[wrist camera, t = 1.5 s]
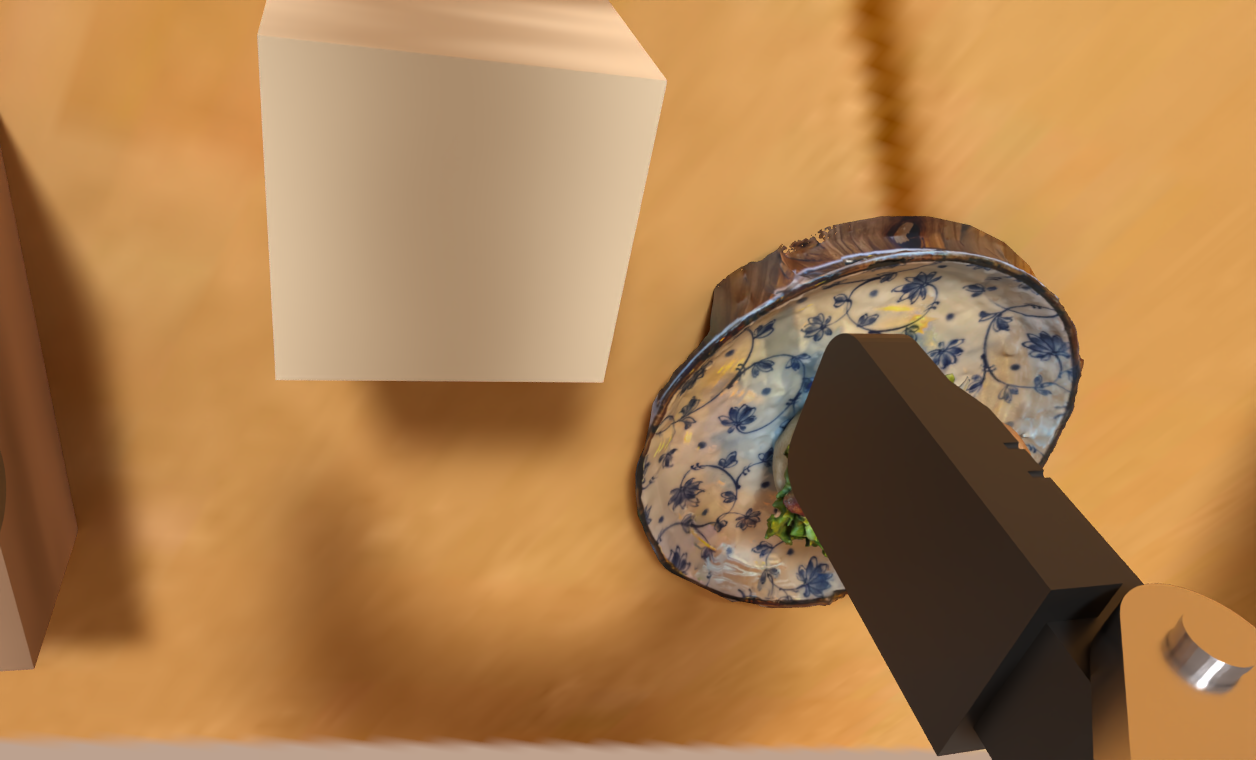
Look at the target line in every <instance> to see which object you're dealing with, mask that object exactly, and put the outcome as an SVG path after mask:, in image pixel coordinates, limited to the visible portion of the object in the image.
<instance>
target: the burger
mask: <svg viewBox="0 0 1256 760" xmlns="http://www.w3.org/2000/svg"><path fill="white" fill-rule="evenodd" d="M849 226H850V227H849ZM835 227H836V228H835ZM827 228H828V230H829V232H828V234H827V232H825V231H822V229H821V230H820V231H819V232H818V233H821V234H820V235H819V238H823V235H825V237H824V238H823V239H824V240H825V241H823V242H822V243H819V242H818V241H817V240H816V238H815V237H812V238H810V240H808V239H807V238H805V239H804V240H802V241H800V240H798V241H797V242H796V241H794V242H793V243H792V244H791V246H789V247H791V250H793V252H791V253H790V251H789V250H790V249H789V250H788V251H789V252H787V253H783V250H785V249H787V247H785V246H783V247H782V245H783V244H782V245H780V247H779V249H777V250H776V251H775V252H773V253H771V254H769V255H768V256H767V257H765V258H764V259H763V260H761V261H758V262H750V263H748V264H747V265H745V266H743V267H741V268H739V269H738V270H736V271H734V272H733V273H732V274H730V275H728V276H727V277H726V279H723V280H722V281H721V282H720V283H719V284H717V286H716V287H715V289H714V301H713V306H712V312H711V318H710V331H709V333H708V335H707V336H706V337H705V338H704V339H703V341H702V342H701V343H700V345H699V346H698V348H696V349H695V350H694V351H693V352H692V353H691V354H690V355H689V357H688V358H687V360H686V361H685V362H684V363H683V364H682V365H680V366H679V367H678V368H677V369H676V370H675V372H674V373H673V375H672V376H671V378H670V380H669V382H668V383H667V384H666V385H665V386H664V388H663V389H661V390H660V391H659V393H658V395H657V397H656V399H655V401H654V403H653V405H652V412H651V418H650V424H649V429H648V433H647V438H646V442H645V447H644V449H643V451H642V454H641V456H640V459H639V461H638V464H637V469H636V500H637V510H638V516H639V518H640V521H641V523H642V526H643V528H644V531H645V534H646V536H647V538H648V540H649V542H650V544H651V546H652V548H653V550H654V552H655V554H656V556H657V558H658V560H659V561H660V562H661V564H662V565H663V566H664V567H665V568H666V569H667V570H668V571H670V572H671V573H673V574H675V575H677V576H679V577H681V578H684V579H686V580H688V581H690V582H692V583H694V584H696V585H698V586H701V587H703V588H705V589H707V590H709V591H711V592H713V593H715V594H717V595H719V596H721V597H723V598H725V599H727V600H729V601H731V602H736V601H742V602H748V603H753V604H758V605H759V606H762V607H768V608H792V607H810V606H816V605H823V606H826V605H830V604H831V603H832V602H834V601H836V600H837V599H838V598H843V597H844V596H845V594H848V593H847V591H846V589H845V587H844V586H843V584H842V582H841V580H840V578H839V577H838V575H837V573H836V571H835V569H834V568H833V566H832V564H831V562H830V560H829V558H828V557H827V555H826V553H825V551H824V549H823V548H822V546H821V544H820V542H819V540H818V539H817V537H816V535H815V533H814V531H813V529H812V528H811V526H810V524H809V522H808V520H807V519H806V517H805V515H804V513H803V511H802V510H801V508H800V506H799V504H798V502H797V500H796V498H795V496H794V494H793V492H792V489H791V485H790V481H789V475H788V450H789V445H790V442H791V438H792V436H793V433H794V430H795V428H796V425H797V422H798V420H799V417H800V414H801V412H802V409H803V406H804V404H805V401H806V399H807V396H808V393H809V391H810V388H811V385H812V383H813V380H814V377H815V375H816V372H817V369H818V367H819V364H820V361H821V359H822V356H823V353H824V351H825V349H826V347H827V345H828V344H829V342H830V341H831V340H832V339H833V338H834V337H835V336H837V335H839V334H842V333H863V334H905V335H908V336H910V337H911V338H913V339H914V340H915V341H916V342H917V343H918V344H919V345H920V347H921V348H922V349H923V350H924V351H925V352H926V354H927V355H928V356H929V357H930V358H931V359H932V361H933V362H934V363H935V364H936V365H937V366H938V368H939V369H940V370H941V371H942V372H943V373H944V375H945V376H946V377H947V378H948V379H949V380H950V381H951V382H953V383H954V384H956V385H957V386H958V387H960V388H961V389H963V390H964V391H966V392H967V393H968V394H970V395H971V396H973V397H974V398H975V399H977V400H978V401H980V402H981V403H983V404H984V405H985V406H987V407H988V408H990V410H991V411H992V412H993V413H994V414H995V415H996V416H997V418H998V419H999V420H1000V421H1001V422H1002V423H1003V424H1004V426H1005V427H1006V428H1007V429H1008V430H1009V431H1010V432H1011V434H1012V435H1013V436H1014V437H1015V438H1016V439H1017V440H1018V442H1019V444H1018V446H1019V449H1026V451H1027V452H1028V453H1029V454H1030V455H1031V456H1032V457H1033V459H1034V460H1035V461H1036V462H1037V463H1038V464H1039V465H1040V467H1041V468H1043V467H1044V465H1045V464H1046V462H1047V460H1048V458H1049V456H1050V454H1051V453H1052V452H1053V449H1054V448H1055V446H1056V444H1057V441H1058V439H1059V436H1060V435H1061V432H1062V430H1063V429H1064V428H1065V425H1066V422H1067V421H1068V419H1069V418H1070V416H1071V413H1072V411H1073V409H1074V402H1075V396H1076V394H1077V389H1078V382H1079V379H1080V377H1081V371H1082V368H1083V364H1084V360H1083V359H1081V358H1080V355H1079V343H1078V339H1077V331H1076V328H1075V325H1074V324H1073V321H1071V319H1070V317H1069V316H1068V314H1067V312H1066V311H1065V309H1064V307H1063V306H1062V305H1061V304H1060V302H1059V298H1058V297H1057V296H1056V295H1054V294H1053V293H1052V292H1050V291H1049V290H1048V289H1047V288H1046V287H1045V286H1044V285H1043V284H1042V283H1041V282H1040V281H1038V280H1037V279H1036V277H1035V275H1034V273H1033V271H1032V270H1031V268H1030V266H1029V265H1028V264H1027V263H1026V262H1025V261H1024V260H1022V259H1021V258H1020V257H1019V256H1018V255H1017V254H1016V253H1015V252H1014V251H1013V250H1012V249H1011V248H1010V247H1009V246H1008V245H1006V244H1005V243H1004V242H1002V241H1000V240H998V239H996V238H994V237H992V236H990V235H988V234H986V233H984V232H982V231H980V230H978V229H976V228H974V227H972V226H970V225H965V224H961V223H956V222H952V221H948V220H943V219H938V218H933V217H926V216H913V217H912V216H896V217H890V216H885V217H884V216H881V217H876V218H871V219H865V220H859V221H854V222H848V223H843V224H839V225H833V229H831V227H827ZM827 228H825V230H826V229H827ZM830 229H831V230H830ZM836 232H837V233H836ZM835 233H836V235H835ZM815 235H816V234H815ZM811 236H812V235H811ZM828 237H829V238H828ZM827 238H828V239H827ZM806 242H807V243H806ZM808 242H809V243H808ZM802 245H803V246H802ZM781 247H782V248H781ZM792 247H793V248H794V249H793V248H792ZM795 249H796V250H795ZM786 254H787V255H786ZM741 269H743V270H741ZM718 286H719V287H718Z"/></svg>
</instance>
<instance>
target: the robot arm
mask: <svg viewBox="0 0 1256 760" xmlns="http://www.w3.org/2000/svg"><path fill="white" fill-rule="evenodd" d="M1018 444H1019V442H1018V440H1017V439H1016V438H1015V437H1014V436H1013V435H1012V434H1011V432H1010V431H1009V430H1008V429H1007V428H1006V427H1005V426H1004V424H1003V423H1002V422H1001V421H1000V420H999V419H998V418H997V416H996V415H995V414H994V413H993V412H992V411H991V410H990V408H988V407H987V406H985V405H984V404H983V403H981V402H980V401H978V400H977V399H975V398H974V397H973V396H971V395H970V394H968V393H967V392H966V391H964V390H963V389H961V388H960V387H958V386H957V385H956V384H954V383H953V382H951V381H950V380H949V379H948V378H947V377H946V376H945V375H944V373H943V372H942V371H941V370H940V369H939V368H938V366H937V365H936V364H935V363H934V362H933V361H932V359H931V358H930V357H929V356H928V355H927V354H926V352H925V351H924V350H923V349H922V348H921V347H920V345H919V344H918V343H917V342H916V341H915V340H914V339H913V338H911V337H910V336H908V335H905V334H863V333H842V334H839V335H837V336H835V337H834V338H833V339H832V340H831V341H830V342H829V344H828V345H827V347H826V349H825V351H824V353H823V356H822V359H821V361H820V364H819V367H818V369H817V372H816V375H815V377H814V380H813V383H812V385H811V388H810V391H809V393H808V396H807V399H806V401H805V404H804V406H803V409H802V412H801V414H800V417H799V420H798V422H797V425H796V428H795V430H794V433H793V436H792V438H791V442H790V445H789V450H788V475H789V481H790V485H791V489H792V492H793V494H794V496H795V498H796V500H797V502H798V504H799V506H800V508H801V510H802V511H803V513H804V515H805V517H806V519H807V520H808V522H809V524H810V526H811V528H812V529H813V531H814V533H815V535H816V537H817V539H818V540H819V542H820V544H821V546H822V548H823V549H824V551H825V553H826V555H827V557H828V558H829V560H830V562H831V564H832V566H833V568H834V569H835V571H836V573H837V575H838V577H839V578H840V580H841V582H842V584H843V586H844V587H845V589H846V591H847V593H848V595H849V597H850V598H851V600H852V602H853V604H854V606H855V607H856V609H857V611H858V613H859V615H860V617H861V618H862V620H863V622H864V624H865V626H866V627H867V629H868V631H869V633H870V635H871V636H872V638H873V640H874V642H875V644H876V646H877V647H878V649H879V651H880V653H881V655H882V656H883V658H884V660H885V662H886V664H887V665H888V667H889V669H890V671H891V673H892V675H893V676H894V678H895V680H896V682H897V684H898V685H899V687H900V689H901V691H902V693H903V695H904V696H905V698H906V700H907V702H908V704H909V705H910V707H911V709H912V711H913V713H914V714H915V716H916V718H917V720H918V722H919V724H920V725H921V727H922V729H923V731H924V733H925V734H926V736H927V738H928V740H929V742H930V743H931V745H932V747H933V749H934V751H935V753H936V754H937V756H942V755H949V754H955V753H962V752H968V751H974V750H981V749H986V750H987V752H988V753H989V755H990V757H991V758H992V760H1256V628H1255V627H1254V626H1253V625H1251V624H1250V623H1249V622H1248V621H1246V620H1245V619H1244V618H1242V617H1241V616H1239V615H1238V614H1236V613H1235V612H1233V611H1232V610H1230V609H1229V608H1227V607H1225V606H1224V605H1222V604H1220V603H1218V602H1216V601H1215V600H1213V599H1211V598H1208V597H1206V596H1204V595H1202V594H1199V593H1197V592H1194V591H1191V590H1188V589H1185V588H1182V587H1178V586H1173V585H1168V584H1158V583H1156V584H1145V585H1144V584H1143V583H1142V582H1141V580H1140V579H1139V578H1138V577H1137V576H1136V575H1135V574H1134V573H1133V571H1132V570H1131V569H1130V568H1129V567H1128V566H1127V565H1126V563H1125V562H1124V561H1123V560H1122V559H1121V558H1120V557H1119V555H1118V554H1117V553H1116V552H1115V551H1114V550H1113V549H1112V547H1111V546H1110V545H1109V544H1108V543H1107V542H1106V541H1105V539H1104V538H1103V537H1102V536H1101V535H1100V534H1099V533H1098V532H1097V530H1096V529H1095V528H1094V527H1093V526H1092V525H1091V524H1090V522H1089V521H1088V520H1087V519H1086V518H1085V517H1084V516H1083V514H1082V513H1081V512H1080V511H1079V510H1078V509H1077V508H1076V506H1075V505H1074V504H1073V503H1072V502H1071V501H1070V500H1069V498H1068V497H1067V496H1066V495H1065V494H1064V493H1063V492H1062V490H1061V489H1060V488H1059V487H1058V486H1057V485H1056V484H1055V483H1054V481H1053V480H1052V479H1051V478H1044V476H1043V471H1044V470H1043V469H1042V468H1041V467H1040V465H1039V464H1038V463H1037V462H1036V461H1035V460H1034V459H1033V457H1032V456H1031V455H1030V454H1029V453H1028V452H1027V451H1026V449H1019V446H1018ZM5 504H6V475H5V467H4V462H3V458H2V454H1V451H0V531H1V527H2V523H3V519H4V513H5Z"/></svg>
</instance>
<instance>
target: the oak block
mask: <svg viewBox="0 0 1256 760" xmlns="http://www.w3.org/2000/svg"><path fill="white" fill-rule="evenodd" d="M257 38H258V57H259V76H260V94H261V113H262V132H263V150H264V169H265V188H266V207H267V225H268V244H269V263H270V281H271V300H272V319H273V338H274V356H275V375H276V380H346V381H478V382H603V381H604V376H605V372H606V367H607V362H608V358H609V353H610V348H611V343H612V339H613V334H614V329H615V325H616V320H617V315H618V310H619V306H620V301H621V296H622V292H623V287H624V282H625V277H626V273H627V268H628V263H629V259H630V254H631V249H632V244H633V240H634V235H635V230H636V226H637V221H638V216H639V212H640V207H641V202H642V197H643V193H644V188H645V183H646V179H647V174H648V169H649V164H650V160H651V155H652V150H653V146H654V141H655V136H656V131H657V127H658V122H659V117H660V113H661V108H662V103H663V98H664V94H665V89H666V84H667V80H666V78H665V77H664V76H663V74H662V73H661V72H660V70H659V69H658V67H657V66H656V65H655V63H654V62H653V61H652V59H651V58H650V57H649V55H648V54H647V52H646V51H645V50H644V48H643V47H642V46H641V44H640V43H639V42H638V40H637V39H636V37H635V36H634V35H633V33H632V32H631V31H630V29H629V28H628V27H627V25H626V24H625V22H624V21H623V20H622V18H621V17H620V16H619V14H618V13H617V12H616V10H615V9H614V7H613V6H612V5H611V3H610V2H609V1H608V0H267V1H266V5H265V8H264V12H263V16H262V20H261V23H260V27H259V31H258V34H257Z"/></svg>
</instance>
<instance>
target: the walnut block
mask: <svg viewBox="0 0 1256 760" xmlns="http://www.w3.org/2000/svg"><path fill="white" fill-rule="evenodd" d="M0 451H1V454H2V458H3V462H4V467H5V475H6V504H5V513H4V519H3V523H2V527H1V531H0V671H12V670H28V669H34V668H35V665H36V662H37V658H38V655H39V652H40V649H41V646H42V643H43V640H44V637H45V633H46V630H47V627H48V624H49V621H50V618H51V615H52V611H53V608H54V605H55V602H56V599H57V596H58V593H59V589H60V586H61V583H62V580H63V577H64V574H65V571H66V568H67V564H68V561H69V558H70V555H71V552H72V549H73V546H74V542H75V539H76V536H77V533H78V527H77V522H76V517H75V512H74V507H73V502H72V497H71V492H70V487H69V483H68V478H67V473H66V468H65V463H64V458H63V453H62V448H61V443H60V438H59V433H58V428H57V423H56V418H55V413H54V408H53V403H52V398H51V393H50V388H49V383H48V378H47V373H46V369H45V364H44V359H43V354H42V349H41V344H40V339H39V334H38V329H37V324H36V319H35V314H34V309H33V304H32V299H31V294H30V289H29V284H28V279H27V274H26V269H25V264H24V259H23V255H22V250H21V245H20V240H19V235H18V230H17V225H16V220H15V215H14V210H13V205H12V200H11V195H10V190H9V185H8V180H7V175H6V170H5V165H4V160H3V155H2V150H1V145H0Z"/></svg>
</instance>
